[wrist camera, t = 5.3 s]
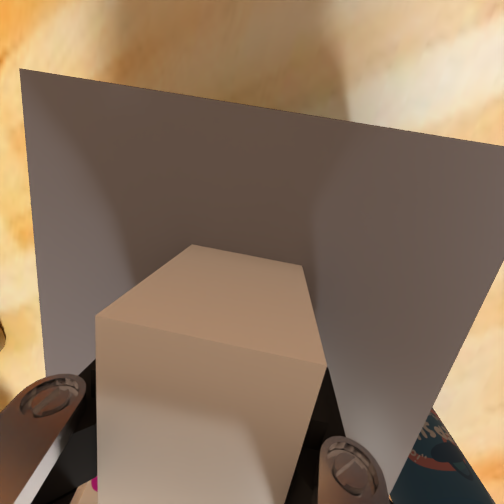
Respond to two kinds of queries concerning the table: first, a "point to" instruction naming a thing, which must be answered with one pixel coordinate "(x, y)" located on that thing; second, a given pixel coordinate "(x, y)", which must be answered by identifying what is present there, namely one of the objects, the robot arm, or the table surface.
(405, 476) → the soda can
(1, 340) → the squeeze bottle
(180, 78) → the table surface
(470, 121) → the table surface
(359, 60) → the table surface
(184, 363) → the lid
